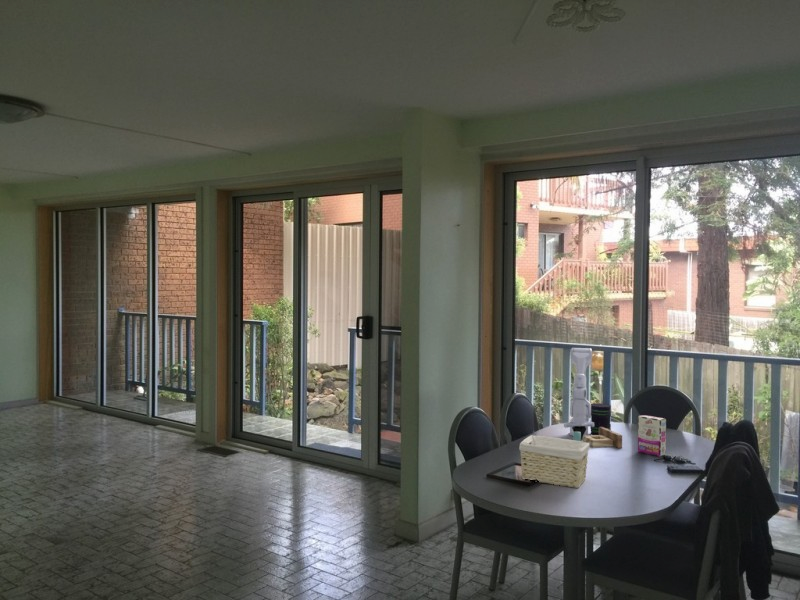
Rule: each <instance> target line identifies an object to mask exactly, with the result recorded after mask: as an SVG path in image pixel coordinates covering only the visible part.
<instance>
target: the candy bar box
mask: <svg viewBox="0 0 800 600" xmlns="http://www.w3.org/2000/svg"><path fill="white" fill-rule="evenodd" d="M666 450H667V418H665V417H664V418H663V417H660V416H659V417H658V416H652V415H647V414H646V415H645V414H644V415H642V414H641V415H638V417H637V452H638V453H642V454H646V455H651V456H656V457H659V458H660V457H665V456H666V454H667V451H666ZM664 455H665V456H664Z"/></svg>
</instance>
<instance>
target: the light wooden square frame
mask: <svg viewBox="0 0 800 600" xmlns="http://www.w3.org/2000/svg"><path fill="white" fill-rule="evenodd" d="M588 435H589V436H583V438H582V442H586V443H589V444H590V445H589V447H592V448H604V446H607V447H614V446H613V440H612V439H610V438H608V437H606V436H603V435H591V434H588Z"/></svg>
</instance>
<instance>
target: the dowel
mask: <svg viewBox="0 0 800 600" xmlns="http://www.w3.org/2000/svg"><path fill="white" fill-rule="evenodd" d="M572 437H573V438H572V439H573V440H575V441H581V432H577V431H575V432H574V434H573V436H572Z"/></svg>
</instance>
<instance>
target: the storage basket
mask: <svg viewBox="0 0 800 600" xmlns="http://www.w3.org/2000/svg"><path fill="white" fill-rule="evenodd" d="M518 450H519V451H520V464H521V475H522V476H521V478H522V479H523V478H527V479H537V480H538V481H539V482H538V483H546V484H550V485H553V484H554V485H553V486H559V485H560V486H561V487H568V488H575V489H576V488H577V489H578V488H580V487H581V486H582V484H583V483H584V482H585V480H586V477H587V476H586V474H587V468H588V467H587V466H588V465H587V464H588V456H589V455H588V453H589V451H590V444H589V443H586V442H583V440H582V441H575V440H572V439H567V438H559V437H553V436H544V435H534V434H530V435H529V436H527V437H526V438H524V439H523V440H522V441H521V442H520V443H519V449H518Z"/></svg>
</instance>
